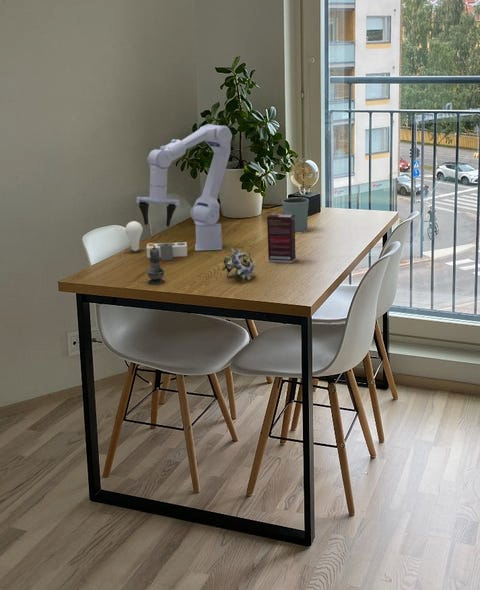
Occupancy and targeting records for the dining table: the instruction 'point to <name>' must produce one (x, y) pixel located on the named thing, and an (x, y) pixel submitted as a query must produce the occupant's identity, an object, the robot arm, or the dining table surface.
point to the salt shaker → (155, 268)
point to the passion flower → (240, 264)
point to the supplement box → (281, 238)
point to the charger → (166, 251)
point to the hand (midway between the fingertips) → (157, 225)
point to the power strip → (178, 248)
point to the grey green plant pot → (297, 211)
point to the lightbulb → (134, 234)
